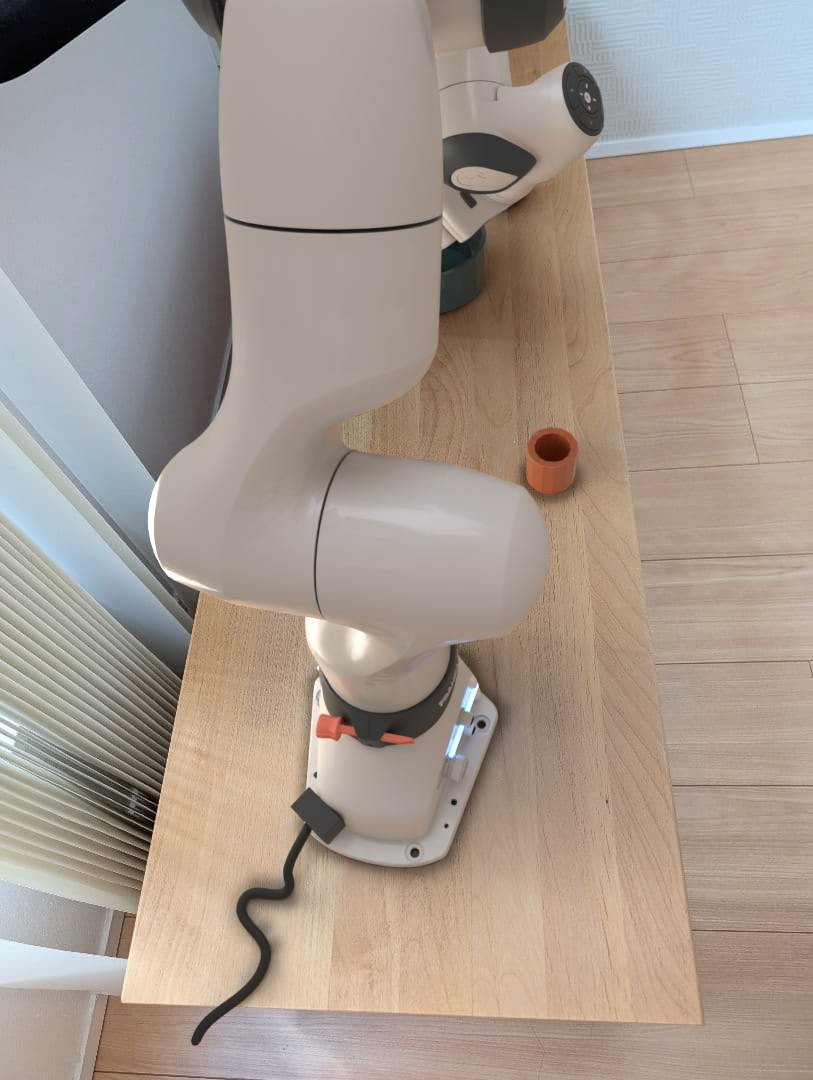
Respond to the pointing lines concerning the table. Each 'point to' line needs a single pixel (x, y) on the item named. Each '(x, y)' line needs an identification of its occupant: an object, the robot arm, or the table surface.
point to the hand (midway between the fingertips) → (424, 220)
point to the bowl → (463, 271)
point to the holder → (551, 460)
